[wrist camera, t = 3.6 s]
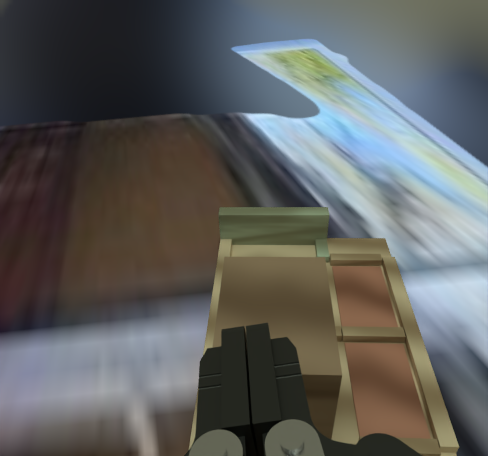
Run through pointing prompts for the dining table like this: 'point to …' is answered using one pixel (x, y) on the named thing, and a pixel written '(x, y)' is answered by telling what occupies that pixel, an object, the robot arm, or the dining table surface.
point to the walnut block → (288, 319)
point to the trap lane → (352, 325)
